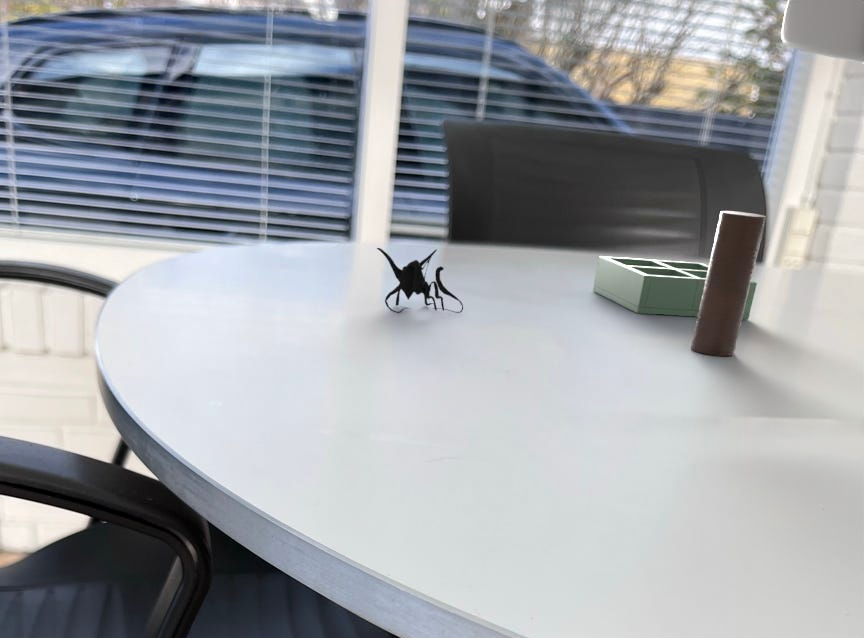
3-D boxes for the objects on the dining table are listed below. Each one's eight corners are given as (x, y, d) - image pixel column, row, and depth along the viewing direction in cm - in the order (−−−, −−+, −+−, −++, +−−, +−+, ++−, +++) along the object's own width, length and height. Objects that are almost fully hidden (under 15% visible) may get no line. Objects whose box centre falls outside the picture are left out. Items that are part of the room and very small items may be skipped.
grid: (695, 297, 117) (702, 263, 115) (748, 319, 107) (757, 282, 105) (592, 290, 114) (598, 255, 113) (637, 313, 104) (644, 275, 102)
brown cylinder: (721, 347, 92) (752, 212, 87) (741, 357, 89) (774, 218, 84) (683, 345, 91) (712, 209, 86) (702, 355, 88) (733, 214, 83)
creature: (473, 328, 95) (435, 292, 101) (488, 270, 92) (447, 235, 97) (396, 329, 92) (360, 291, 97) (408, 269, 89) (370, 233, 94)
